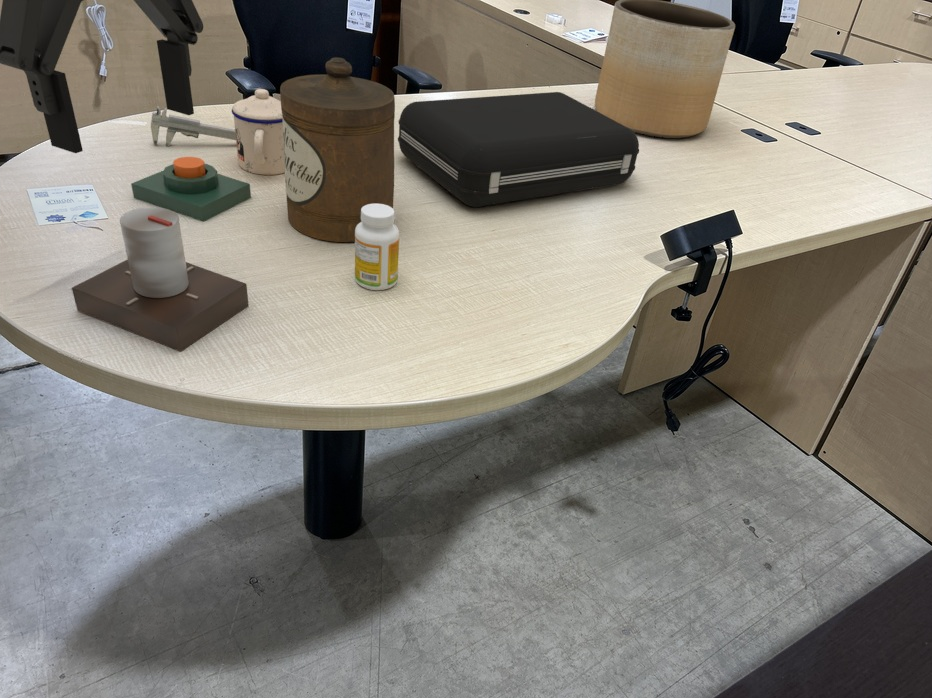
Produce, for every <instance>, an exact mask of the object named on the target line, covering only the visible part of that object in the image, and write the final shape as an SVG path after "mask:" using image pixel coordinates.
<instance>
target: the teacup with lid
mask: <svg viewBox="0 0 932 698" xmlns="http://www.w3.org/2000/svg"><path fill="white" fill-rule="evenodd" d="M231 114H232V115H233V122H234V129H235V133H236V140H235V141H236V153H237V160H238V161H237V163H238V165H239V167H240V168H241V169H243V170H244V171H246V172H248V173H251V174H256V175H263V176H275V175H281V174H285V168H284V141H283V119H282V115H283V114H282V110H281V100H279V99H277V98H275V97H273V96H271V95H270V93H269V91H268V90H267V89H264V88H257V89H256V90H254V95H251V96H249V97H247V98H243V99H239V100H237V101H236V102H234V104H233V105H232V107H231Z"/></svg>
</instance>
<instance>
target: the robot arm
mask: <svg viewBox="0 0 932 698" xmlns="http://www.w3.org/2000/svg"><path fill="white" fill-rule="evenodd" d="M83 1H84V0H2V3H1V10H0V64H1V65H3V66H7V67H10V68H13V69H18V70H20V71H23V72H24V73H25V76H26V79H27V84H28V87H29V91H30V95H31V98H32V103H33V106H34V107H35V109H36V110H37V112H40V113H43V117H44V121H45V125H46V128H47V133H48V136H49V140H50V145H51V147H54V148H57V149H60V150H64V151H67V152H70V153H73V154H78V153H81V152H83V146H82V145H83V144H82V141H81V137H80V132H79V128H78V123H77V120H76V115H75V110H74V107H73V103H72V98H71V93H70V89H69V85H68V80H67V75H66V73H65V72H62V71H59V70H55V69H56V67H57V64H58V63H59V59H60V56H61V54H62V52H63V49H64V47H65V45H66V41H67V39H68V36H69V34H70V32H71V29H72V26H73V24H74V21H75V19H76V17H77V14H78V11H79V9H80V6H81V3H82V2H83ZM133 1H134V3H135V4H136V5H137V7H138V8H139V9H140V10H141V11H142V12H143V13H144V15H145V16H146V17H147V18H148V20H149V21H150V22H151V23H152V24H153V25H154V26H155V27H156V29H157V30H158V32H159V33H160V34H161V35H162V36H163V37H164V38H165V39H163V38H162V39H157V40H156V45H157V46H156V47H157V53H158V59H159V65H160V71H161V79H162V84H163V91H164V98H165V104H166V108H167V110H169V111H171V112H175V113H179V114H183V115H186V116H191V115H194V114H195V111H194V110H195V109H194V103H193V102H194V101H193V95H192V94H193V93H192V88H191V81H190V80H191V79H190V77H191V76H192V70H193V69H192V63H191V54H190V47H189V45H191V46H195V45H196V44H197V43H198V39H199V38H198V34H201V33H203V31H204V22H203V21H202V18H201V16H200V14H199V12H198V9H197V7H196V5H195V4H194V1H193V0H133Z"/></svg>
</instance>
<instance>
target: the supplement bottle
mask: <svg viewBox="0 0 932 698" xmlns="http://www.w3.org/2000/svg"><path fill="white" fill-rule="evenodd" d="M399 252H400V230H399V228H398V226H397V225H396V224H395V209H394V207H393V208H391V207H390V206H388V205H384V204H368V205H365V206H363V207H362V208H361V222H360V223H359V224H358V225H357V226H356V228H355V242H354V279H355V282H356V283H357V285H359V286H360V287H362V288H364V289H367V290H372V291H385V290H388V289H391V288H393V287H394V286H396V284H397V282H398V277H399V254H400V253H399Z"/></svg>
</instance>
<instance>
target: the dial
mask: <svg viewBox="0 0 932 698" xmlns="http://www.w3.org/2000/svg"><path fill="white" fill-rule="evenodd" d="M119 225H120V229H121V235H122V240H123V244H124V249H125V253H126V260H127V259H128V264H129V268H130V273H131V278H132V283H133V287H134V290H135V291H136V292H137V293H138V294H140V295H142V296H145V297H150V298H166V297H171V296H175V295H177V294H180V293H182V292H183V291H184V290H186V289H187V287H188V285H189V280H188V274H187V268H186V262H187V261H186V255H185V250H184V249H185V248H184V243H183V242H184V241H183V237H182V236H183V235H182V230H181V223H180V218H179V215H178V213H177V212H174V211H171V210H168V209H165V208H162V207H159V206H147V207H138V208H134V209H132V210H128V211H127V212H124V213H123V214H122V215H121V216H120V218H119Z"/></svg>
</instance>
